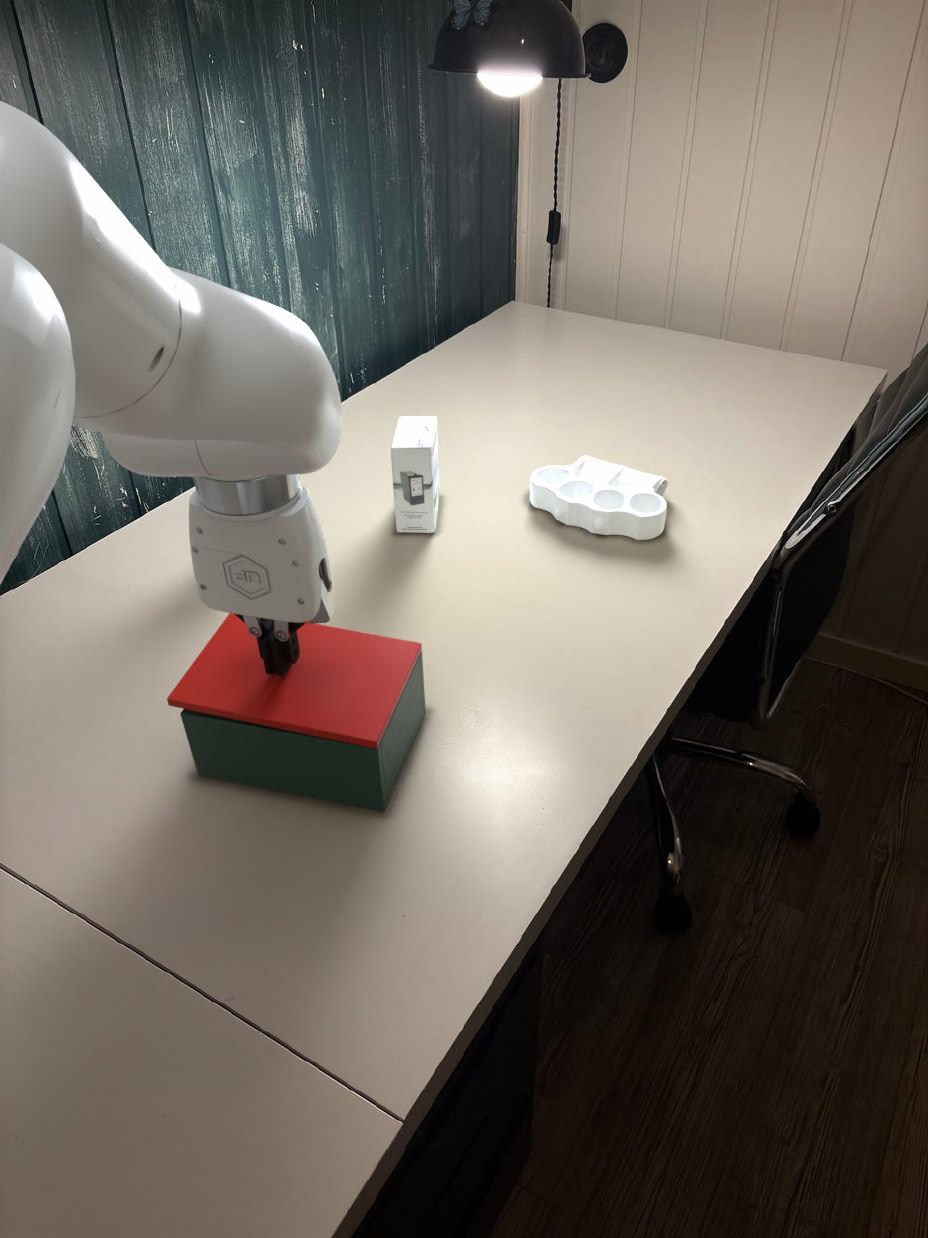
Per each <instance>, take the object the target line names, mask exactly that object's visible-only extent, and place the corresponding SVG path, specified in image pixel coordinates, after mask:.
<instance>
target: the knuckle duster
mask: <svg viewBox="0 0 928 1238" xmlns="http://www.w3.org/2000/svg"><path fill="white" fill-rule="evenodd" d="M668 486H669V479H668V478H666V477H663V476H661V475H655V474H651V473H648V472H643V471H640V470H638V469H637V470H636V469H633V468H630V467H629V466H628V467H627V466H625V465H619V464H616V463H612V462H609V461H605V460H602V459H597V458H594V457H592V456H589V455H582V456H580V457H579V458H578V459H577V460H576V461H575V462H574V463H573V464H569V465H564V466H563V465H546V466H542V467H539V468H537V469H536V470H534V471H533V472H532V473H531V475H530V477H529V502H530V504H531V506H533V508H535V509H538V510H542V511H547V512H549V513H550V514H551V515H552V516H553V517H554V519H555V520H556V521H559V522H560V523H562V524H564V525H566V526H573V527H578V528H582V529H585V530H587V531H588V532H589V533H591V534H594V535H595V534H596V535H601V536H613V535H615V536H616V535H618V536H625V537H629V538H632V539H634V540H635V541H649V540H652V539H655V538H657V537H659V536H660V535H661V534H663V532H664V530H665V526H666V525H665V524H666V517H667V511H668V503H667V501H666V500H665V498H664V497H663V496H664V494H665V493H666V491H667V489H668Z"/></svg>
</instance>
